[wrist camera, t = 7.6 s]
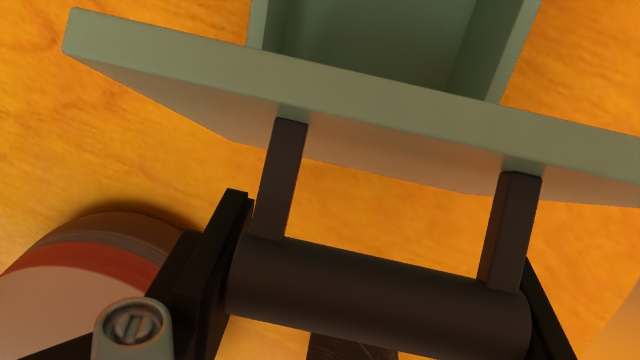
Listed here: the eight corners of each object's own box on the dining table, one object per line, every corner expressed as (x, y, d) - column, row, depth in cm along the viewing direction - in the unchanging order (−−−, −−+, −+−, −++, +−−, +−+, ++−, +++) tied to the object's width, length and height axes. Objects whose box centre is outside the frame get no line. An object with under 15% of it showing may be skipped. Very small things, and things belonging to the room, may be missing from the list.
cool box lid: (69, 3, 7) (-1, 305, 7) (810, 175, 8) (747, 467, 8) (234, 126, 24) (213, 220, 24) (469, 179, 24) (449, 272, 24)
